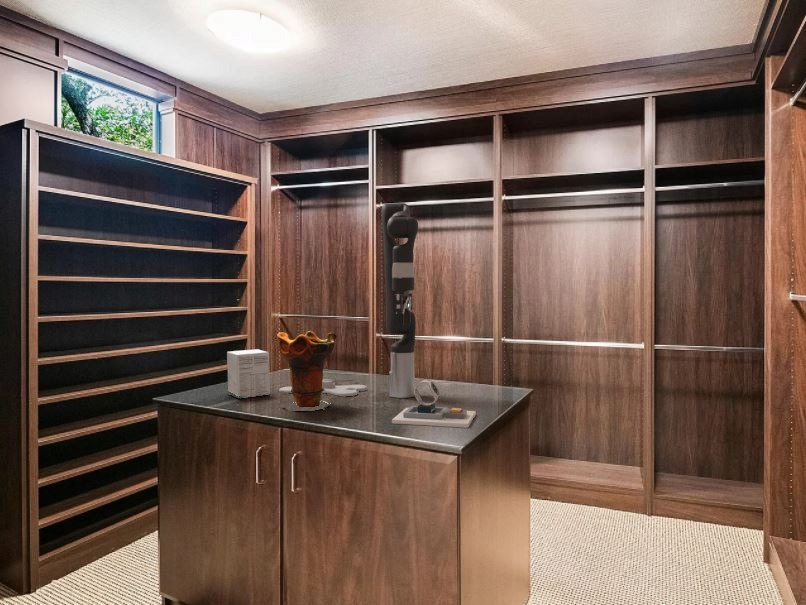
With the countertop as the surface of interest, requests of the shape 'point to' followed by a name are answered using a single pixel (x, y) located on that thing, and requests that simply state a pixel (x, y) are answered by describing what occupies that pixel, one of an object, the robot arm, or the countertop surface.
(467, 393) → the countertop surface
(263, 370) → the supplement box
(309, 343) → the decorative vase
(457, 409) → the button
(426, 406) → the watch
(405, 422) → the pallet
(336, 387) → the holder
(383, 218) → the robot arm
